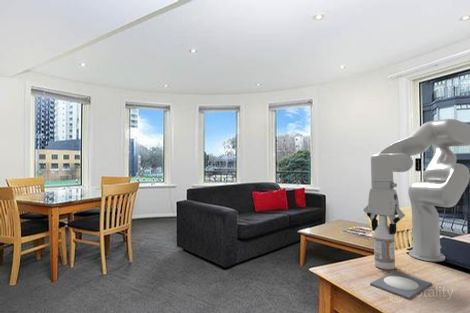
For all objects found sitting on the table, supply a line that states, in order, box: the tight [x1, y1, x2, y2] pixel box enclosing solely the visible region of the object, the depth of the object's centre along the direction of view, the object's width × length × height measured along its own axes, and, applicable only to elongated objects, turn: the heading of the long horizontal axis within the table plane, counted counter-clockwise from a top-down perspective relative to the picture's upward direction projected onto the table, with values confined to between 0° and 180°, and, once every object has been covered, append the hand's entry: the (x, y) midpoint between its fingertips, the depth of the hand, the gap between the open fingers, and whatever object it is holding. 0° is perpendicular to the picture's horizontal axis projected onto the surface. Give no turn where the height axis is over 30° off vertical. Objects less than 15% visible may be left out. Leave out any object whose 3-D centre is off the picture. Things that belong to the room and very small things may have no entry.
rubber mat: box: [369, 271, 433, 300], centre depth 92 cm, size 16×12×1 cm
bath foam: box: [373, 215, 396, 271], centre depth 107 cm, size 7×7×20 cm
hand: (383, 231), depth 107 cm, fingers closed on bath foam, 6 cm apart
